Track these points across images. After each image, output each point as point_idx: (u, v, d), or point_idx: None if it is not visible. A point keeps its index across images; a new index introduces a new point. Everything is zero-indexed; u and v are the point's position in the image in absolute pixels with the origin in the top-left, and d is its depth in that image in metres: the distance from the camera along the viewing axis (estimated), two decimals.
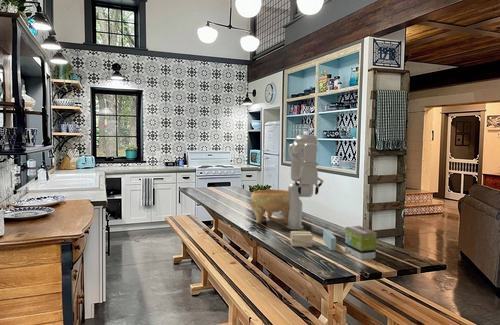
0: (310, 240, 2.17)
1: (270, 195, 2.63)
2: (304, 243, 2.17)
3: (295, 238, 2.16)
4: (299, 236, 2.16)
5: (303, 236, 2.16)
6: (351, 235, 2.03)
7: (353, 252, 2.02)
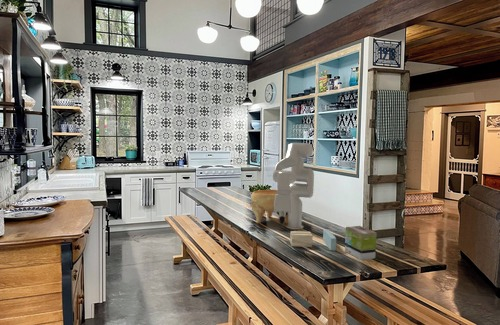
0: (310, 240, 2.17)
1: (270, 195, 2.63)
2: (304, 243, 2.17)
3: (294, 238, 2.16)
4: (299, 236, 2.16)
5: (303, 236, 2.16)
6: (351, 235, 2.03)
7: (353, 252, 2.02)
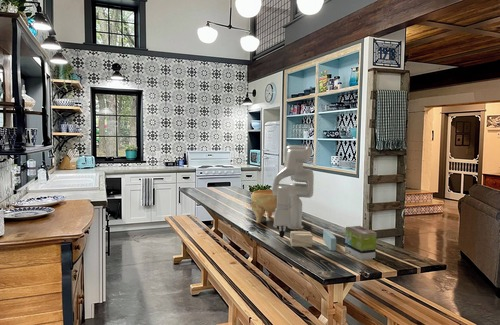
0: (310, 240, 2.17)
1: (270, 195, 2.63)
2: (304, 243, 2.17)
3: (294, 238, 2.16)
4: (299, 236, 2.16)
5: (303, 236, 2.16)
6: (351, 235, 2.03)
7: (353, 252, 2.02)
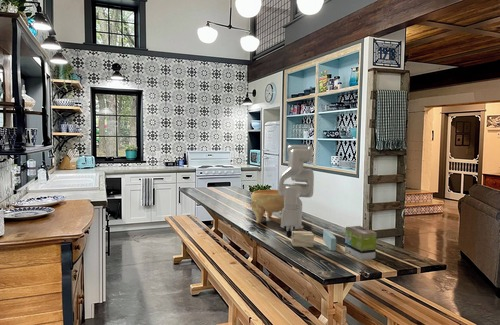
0: (311, 240, 2.17)
1: (270, 195, 2.63)
2: (305, 243, 2.17)
3: (296, 237, 2.16)
4: (300, 236, 2.16)
5: (304, 236, 2.16)
6: (351, 235, 2.03)
7: (353, 252, 2.02)
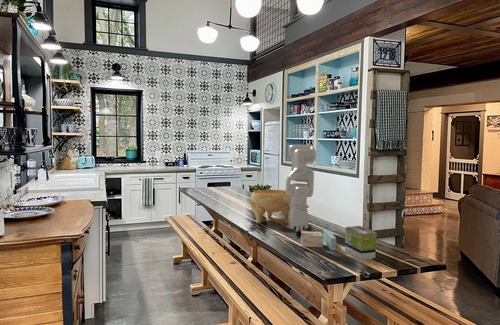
0: (321, 240, 2.17)
1: (270, 195, 2.63)
2: (315, 244, 2.17)
3: (306, 238, 2.16)
4: (310, 236, 2.16)
5: (314, 236, 2.17)
6: (351, 235, 2.03)
7: (353, 252, 2.02)
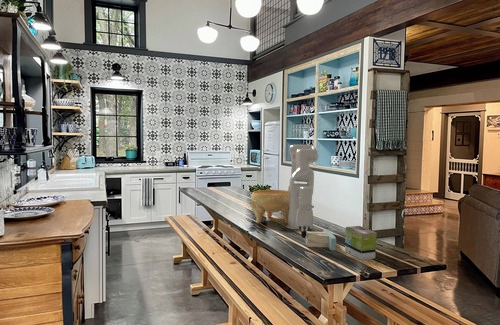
0: (326, 240, 2.17)
1: (270, 195, 2.63)
2: (320, 244, 2.17)
3: (311, 238, 2.17)
4: (315, 236, 2.16)
5: (319, 236, 2.17)
6: (351, 235, 2.03)
7: (353, 252, 2.02)
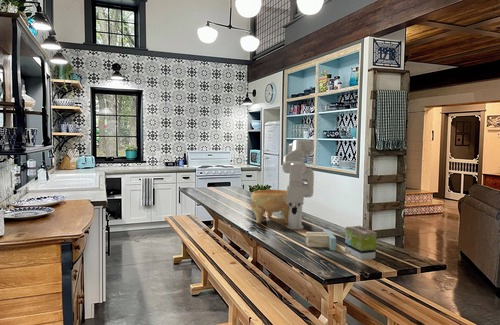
0: (326, 241, 2.17)
1: (270, 195, 2.63)
2: (320, 244, 2.17)
3: (311, 238, 2.17)
4: (315, 237, 2.17)
5: (319, 237, 2.17)
6: (351, 235, 2.03)
7: (353, 252, 2.02)
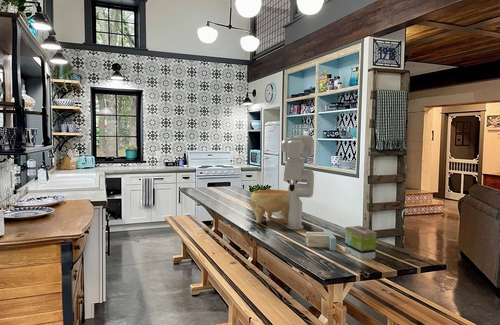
0: (326, 241, 2.17)
1: (270, 195, 2.63)
2: (320, 244, 2.17)
3: (311, 238, 2.17)
4: (315, 237, 2.17)
5: (319, 237, 2.17)
6: (351, 235, 2.03)
7: (353, 252, 2.02)
